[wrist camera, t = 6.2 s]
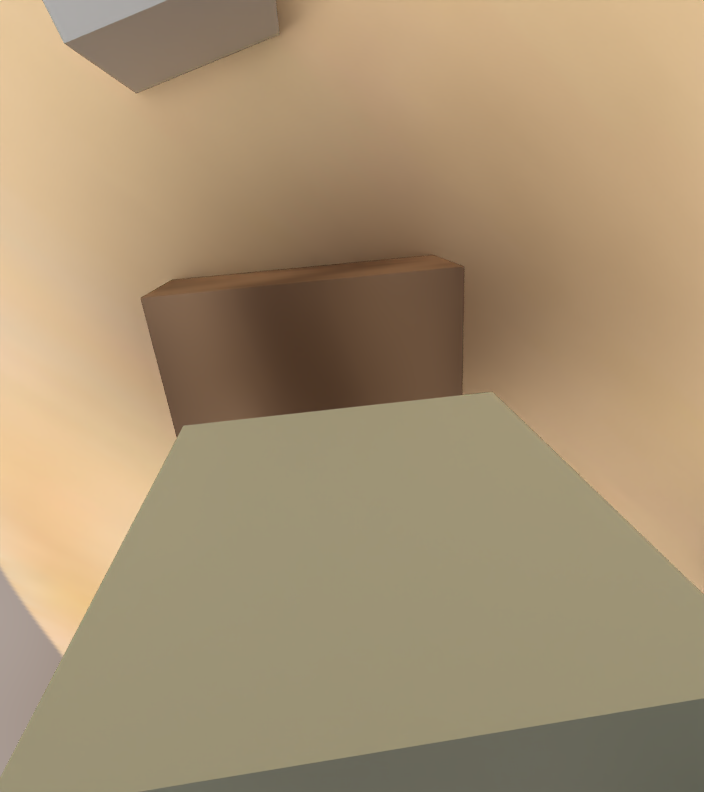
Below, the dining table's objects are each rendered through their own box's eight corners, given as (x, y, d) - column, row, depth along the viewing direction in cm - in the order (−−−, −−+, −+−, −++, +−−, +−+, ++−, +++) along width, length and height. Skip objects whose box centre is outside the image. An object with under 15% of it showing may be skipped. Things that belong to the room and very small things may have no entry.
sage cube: (492, 391, 9) (796, 682, 4) (480, 613, 11) (651, 996, 6) (183, 425, 9) (-21, 816, 3) (237, 649, 11) (175, 1097, 5)
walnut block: (431, 254, 18) (464, 266, 14) (433, 469, 22) (460, 522, 18) (173, 278, 17) (140, 298, 14) (223, 496, 21) (207, 556, 18)
